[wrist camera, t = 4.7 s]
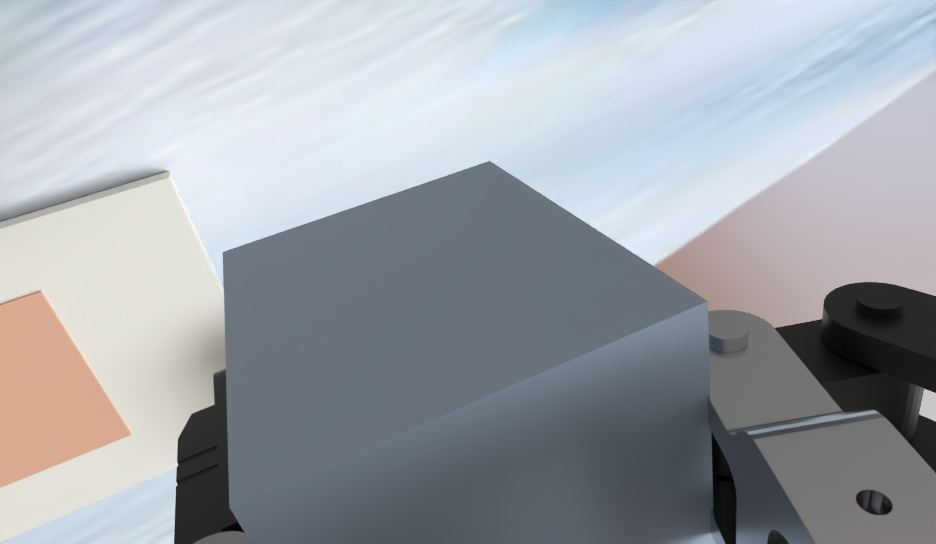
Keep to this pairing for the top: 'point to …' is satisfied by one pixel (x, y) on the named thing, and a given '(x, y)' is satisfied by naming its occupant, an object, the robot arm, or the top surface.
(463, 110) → the top surface
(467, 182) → the slate block
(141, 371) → the board
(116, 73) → the top surface
